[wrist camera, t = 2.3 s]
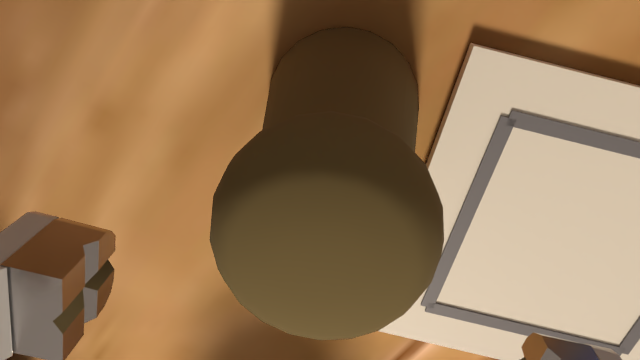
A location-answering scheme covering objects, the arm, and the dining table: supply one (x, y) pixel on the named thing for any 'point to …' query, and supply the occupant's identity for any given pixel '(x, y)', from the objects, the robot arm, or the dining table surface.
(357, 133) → the cork
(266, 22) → the dining table surface
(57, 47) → the dining table surface
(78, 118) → the dining table surface
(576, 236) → the print card
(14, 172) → the dining table surface
